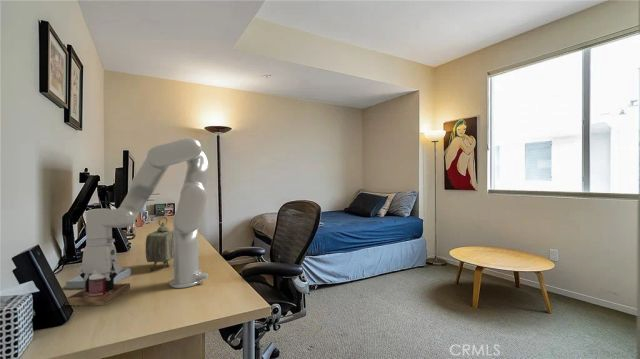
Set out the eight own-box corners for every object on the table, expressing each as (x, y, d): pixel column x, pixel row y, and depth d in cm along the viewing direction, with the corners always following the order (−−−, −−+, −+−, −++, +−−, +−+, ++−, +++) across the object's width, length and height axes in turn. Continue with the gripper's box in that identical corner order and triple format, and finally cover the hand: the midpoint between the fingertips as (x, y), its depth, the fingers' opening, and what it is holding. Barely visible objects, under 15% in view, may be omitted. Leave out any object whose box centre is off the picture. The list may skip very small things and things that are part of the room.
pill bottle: (109, 298, 102) (109, 268, 102) (87, 302, 99) (87, 271, 99) (110, 292, 108) (110, 264, 108) (90, 296, 104) (89, 266, 104)
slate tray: (130, 275, 128) (130, 268, 128) (106, 288, 112) (106, 280, 112) (95, 275, 127) (95, 269, 127) (66, 289, 112) (66, 281, 112)
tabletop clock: (163, 262, 147) (163, 215, 147) (180, 262, 147) (180, 215, 147) (145, 271, 132) (145, 219, 133) (164, 271, 132) (163, 219, 132)
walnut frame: (130, 289, 110) (130, 283, 110) (105, 304, 97) (105, 297, 97) (94, 290, 110) (94, 284, 110) (64, 305, 96) (64, 298, 96)
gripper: (129, 239, 108) (130, 286, 107) (83, 240, 107) (83, 287, 107) (116, 243, 100) (116, 294, 100) (66, 244, 99) (66, 295, 99)
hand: (99, 290), depth 103 cm, fingers open, 6 cm apart
